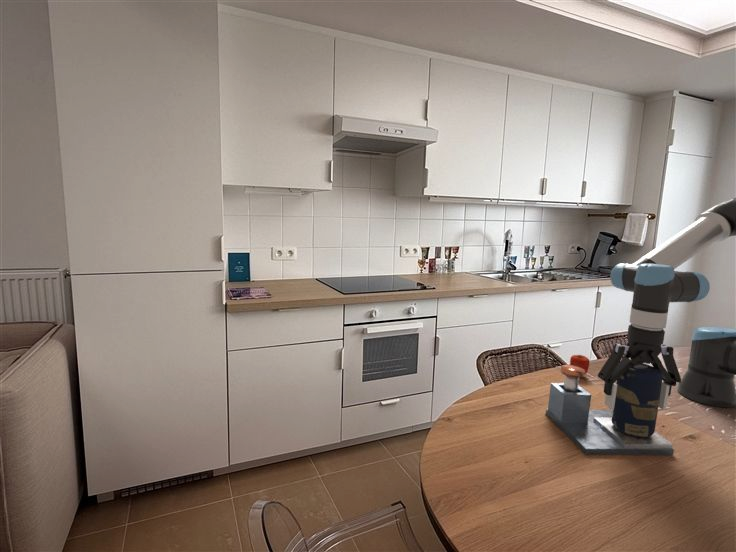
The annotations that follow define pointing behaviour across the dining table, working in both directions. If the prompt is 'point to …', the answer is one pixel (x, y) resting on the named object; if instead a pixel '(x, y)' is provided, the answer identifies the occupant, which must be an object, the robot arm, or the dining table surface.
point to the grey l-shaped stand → (597, 427)
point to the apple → (580, 362)
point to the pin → (571, 377)
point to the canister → (637, 400)
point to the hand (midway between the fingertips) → (634, 407)
